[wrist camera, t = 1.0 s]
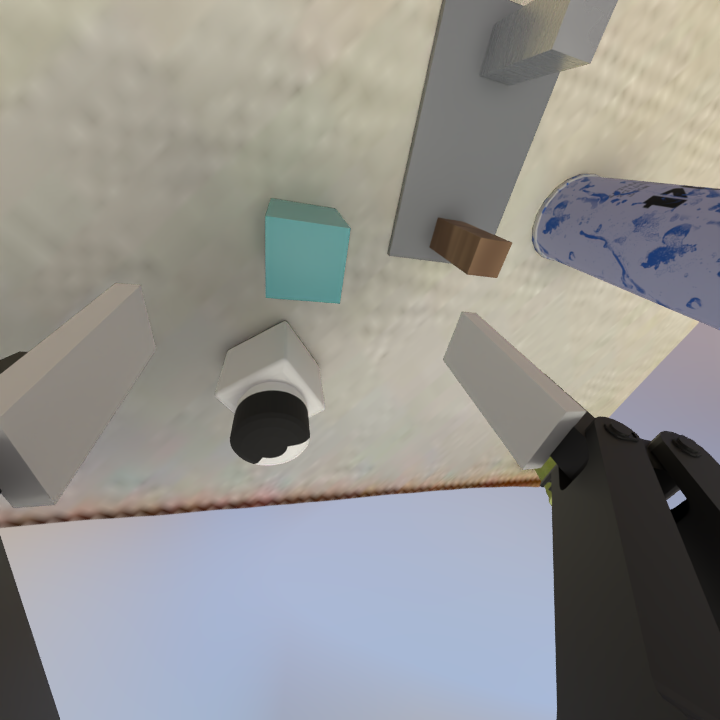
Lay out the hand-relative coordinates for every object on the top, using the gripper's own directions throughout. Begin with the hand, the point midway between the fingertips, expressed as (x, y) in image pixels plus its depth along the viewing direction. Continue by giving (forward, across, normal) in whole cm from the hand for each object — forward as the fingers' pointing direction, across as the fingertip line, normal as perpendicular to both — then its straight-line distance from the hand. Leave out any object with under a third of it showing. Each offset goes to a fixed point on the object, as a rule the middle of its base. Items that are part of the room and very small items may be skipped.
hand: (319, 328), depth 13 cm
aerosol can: (+17, +26, +5) cm, 31 cm away
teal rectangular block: (+16, 0, 0) cm, 16 cm away
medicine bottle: (+16, -2, -13) cm, 21 cm away
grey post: (+16, +13, +14) cm, 25 cm away
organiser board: (+16, +13, +8) cm, 22 cm away
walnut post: (+16, +13, +2) cm, 21 cm away
